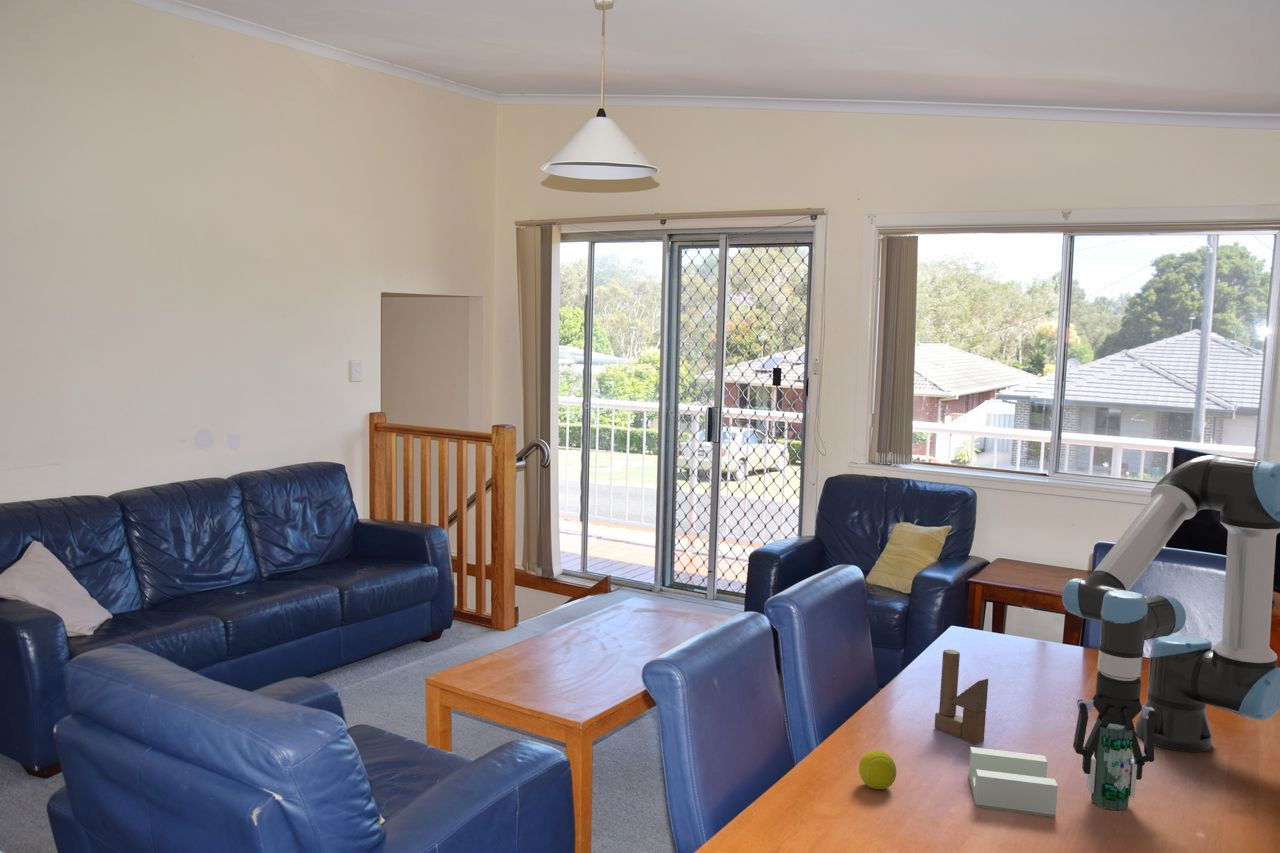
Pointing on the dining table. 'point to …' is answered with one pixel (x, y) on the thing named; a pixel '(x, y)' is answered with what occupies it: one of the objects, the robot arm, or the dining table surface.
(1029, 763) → the socket block
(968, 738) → the wooden block
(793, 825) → the dining table surface
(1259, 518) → the robot arm
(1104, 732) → the can
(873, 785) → the tennis ball
